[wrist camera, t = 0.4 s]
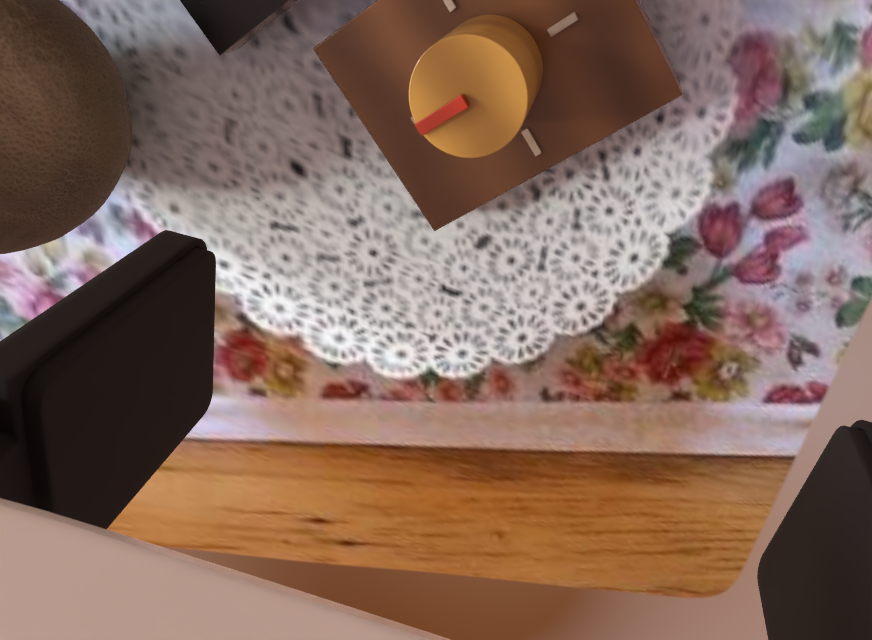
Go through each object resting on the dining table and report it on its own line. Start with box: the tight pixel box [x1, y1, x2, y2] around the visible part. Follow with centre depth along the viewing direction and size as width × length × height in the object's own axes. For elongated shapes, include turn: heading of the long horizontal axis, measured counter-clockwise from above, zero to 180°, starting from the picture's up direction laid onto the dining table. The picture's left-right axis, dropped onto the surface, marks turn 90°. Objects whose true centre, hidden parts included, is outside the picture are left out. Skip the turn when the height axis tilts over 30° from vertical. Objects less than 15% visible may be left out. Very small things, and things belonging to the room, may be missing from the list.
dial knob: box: [409, 15, 543, 158], centre depth 33 cm, size 5×5×6 cm
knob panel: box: [314, 0, 682, 231], centre depth 36 cm, size 14×11×3 cm
